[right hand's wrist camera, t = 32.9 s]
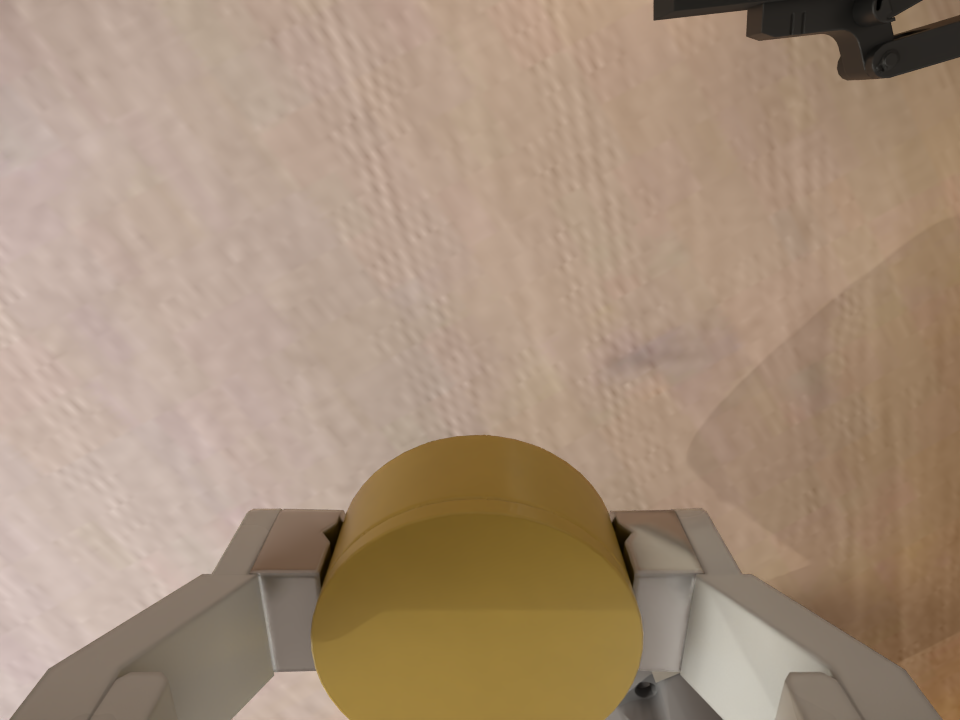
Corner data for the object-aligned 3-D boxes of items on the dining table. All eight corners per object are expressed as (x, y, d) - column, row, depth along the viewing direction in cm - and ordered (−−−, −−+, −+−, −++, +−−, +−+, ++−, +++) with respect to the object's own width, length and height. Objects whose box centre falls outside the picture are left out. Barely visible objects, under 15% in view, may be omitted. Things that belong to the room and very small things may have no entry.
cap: (369, 402, 9) (342, 476, 7) (654, 469, 10) (695, 555, 8) (319, 627, 11) (287, 735, 9) (566, 677, 11) (583, 789, 9)
